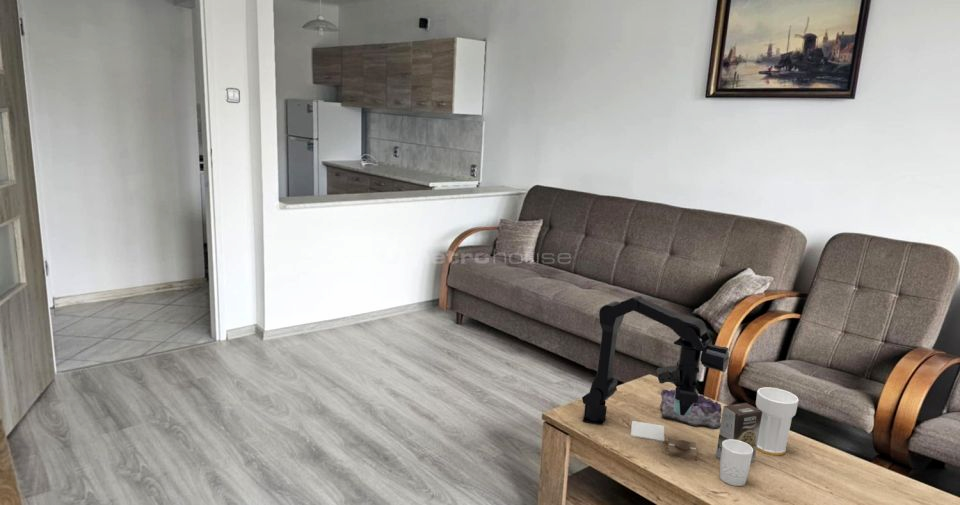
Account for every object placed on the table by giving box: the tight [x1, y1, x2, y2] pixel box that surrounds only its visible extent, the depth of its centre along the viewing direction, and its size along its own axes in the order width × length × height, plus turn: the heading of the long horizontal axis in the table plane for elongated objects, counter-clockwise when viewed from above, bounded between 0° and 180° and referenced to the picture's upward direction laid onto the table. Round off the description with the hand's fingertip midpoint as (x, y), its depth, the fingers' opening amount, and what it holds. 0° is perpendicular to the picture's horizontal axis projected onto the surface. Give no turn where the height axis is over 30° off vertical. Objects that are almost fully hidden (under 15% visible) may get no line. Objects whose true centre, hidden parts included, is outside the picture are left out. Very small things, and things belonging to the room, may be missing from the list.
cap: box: [674, 395, 692, 415], centre depth 185 cm, size 6×5×5 cm
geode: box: [659, 389, 723, 430], centre depth 208 cm, size 20×12×10 cm, turn 64°
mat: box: [630, 420, 665, 443], centre depth 198 cm, size 10×10×1 cm
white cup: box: [719, 439, 753, 487], centre depth 173 cm, size 8×8×10 cm
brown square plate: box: [667, 437, 698, 461], centre depth 187 cm, size 8×8×2 cm
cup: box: [755, 386, 800, 457], centre depth 190 cm, size 11×11×17 cm
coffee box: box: [715, 402, 762, 463], centre depth 183 cm, size 9×6×16 cm
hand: (681, 411), depth 186 cm, fingers closed on cap, 5 cm apart
